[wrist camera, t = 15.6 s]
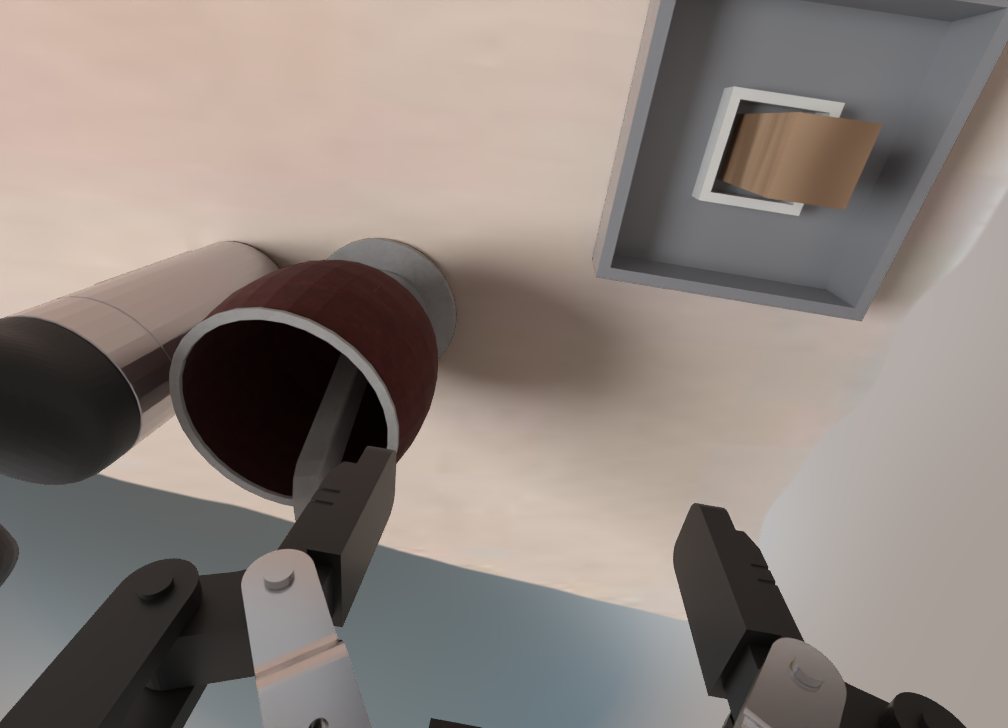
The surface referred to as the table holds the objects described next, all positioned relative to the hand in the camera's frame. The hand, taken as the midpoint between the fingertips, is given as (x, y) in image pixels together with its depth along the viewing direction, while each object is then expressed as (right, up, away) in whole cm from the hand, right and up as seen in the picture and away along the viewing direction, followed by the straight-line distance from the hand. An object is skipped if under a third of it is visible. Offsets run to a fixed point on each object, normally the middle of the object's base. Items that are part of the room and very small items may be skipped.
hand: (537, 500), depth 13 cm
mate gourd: (-11, +8, +29) cm, 32 cm away
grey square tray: (+16, +18, +20) cm, 31 cm away
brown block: (+16, +18, +19) cm, 31 cm away
